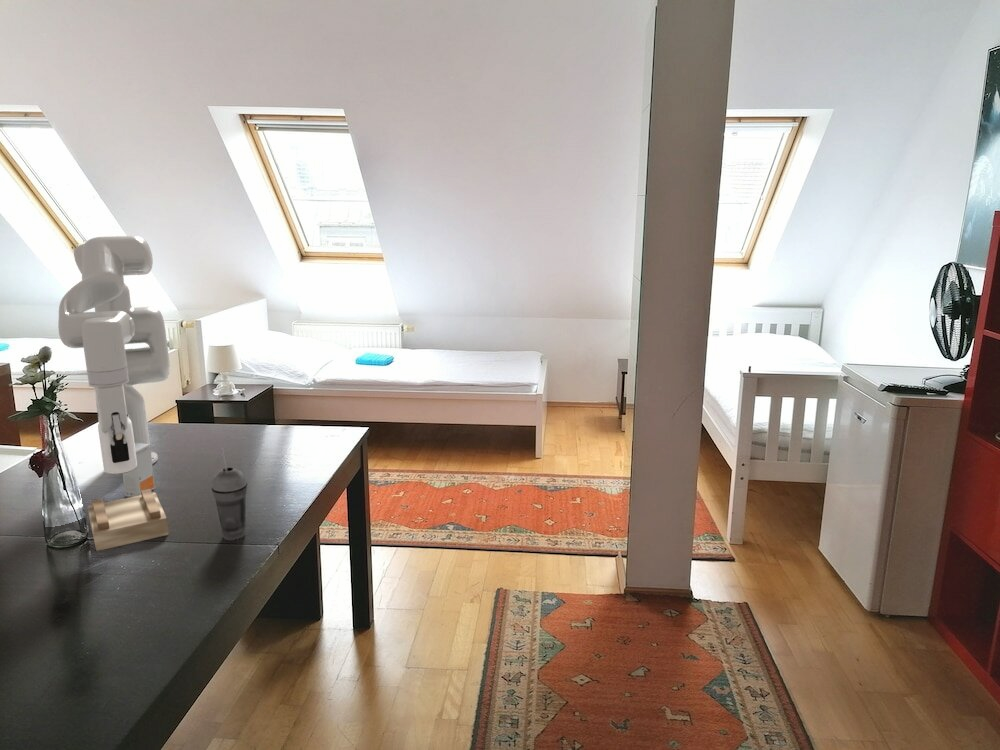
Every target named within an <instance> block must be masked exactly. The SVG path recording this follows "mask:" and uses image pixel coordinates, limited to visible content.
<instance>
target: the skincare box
mask: <svg viewBox="0 0 1000 750" xmlns="http://www.w3.org/2000/svg"><path fill="white" fill-rule="evenodd" d="M135 451H136V459H137V467H136V468H135V469H134V470H133V471H130V472H128V473H123V474H122V481H123V482H122V483H123V492H124V496H125V497H127V498H130V497H135V496H140V495H141V491H142V490H147V489H151V491H153V490H155V488H156V486H155V476H154V468H153V464H152V457H151V452H152V450H151V443H150V444H143V443H135Z"/></svg>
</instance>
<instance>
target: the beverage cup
mask: <svg viewBox="0 0 1000 750" xmlns="http://www.w3.org/2000/svg"><path fill="white" fill-rule="evenodd" d="M220 450H221V455H222V460H223V467H224V468H222V469H220V470H219V471H217V472H216V474H214V477H213V480H212V483H211V491H212V495H213V497H214V500H215V503H216V504H215V505H216V509H217V514H218V517H219V518H218V520H219V524H220V529H221V530H220V531H221V533H222V537H224V538H223V539H224V540H225V541H235V539H237V540H239V538H240V539H242V538H244V537H245V536H244V535H246V525H247V524H246V520H247V519H246V518H247V517H246V513H247V510H246V507H247V505H246V504H247V503H246V500H247V499H246V498H247V497H246V496H247V495H246V494H247V490H248V482H247V479H246V477H245V475H244V474H243V472H242V471H241V470H239V469H238V468H234V467H228V466H227V460H226V455H225V448H224V447H221V448H220ZM243 536H244V537H243ZM241 537H242V538H241Z"/></svg>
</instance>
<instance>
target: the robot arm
mask: <svg viewBox="0 0 1000 750" xmlns="http://www.w3.org/2000/svg"><path fill="white" fill-rule="evenodd" d="M152 253H153V252H152V250H151V247H150V245H149V243H148V242H147V241H146V240H145V239H144V238H142V237H141V236H136V235H133V236H132V235H131V236H130V235H127V236H126V235H125V236H123V235H122V236H121V235H120V236H118V235H117V236H95V237H92V238H89V239H88V240H87V241H85V243H83V244H79V245H77V246H76V247H75V248H74V252H73V257H74V261H75V265H76V267H77V268H78V270H79V272H80V274H81V281H79V282H77V283H76V284H75V285H73V287H71V288H70V289H69V290H68V291H67V292H66V293H65V294H64V296H63V297H62V299H61V300H60V302H59V305H58V306H59V307H58V326H57V327H58V336H59V338H60V341H61V342H62V344H63V345H64V346H66V347H67V348H71V349H83V353H84V358H85V359H84V360H85V361H84V362H85V367H86V375H87V380H88V386H89V387H91V388H94V396H95V403H96V410H97V419H98V424H99V423H100V427H101V431H102V432H103V433H106V432H108V431H110V432H109V433H110V438H111V444H112V445H110V447H111V455H112V461H113V463H118V462H123V461H128V460H129V452H128V444H127V442H126V437H125V431H124V430H126V429H127V428H128V426H127V414H128V415H129V416H128V417H129V419H130V420H131V422H132V428H133V436H134V444H135V443H143V444H150V445H151V443H150V442H151V441H150V435H149V426H148V425H149V424H148V418H147V409H146V401H145V399H144V397H143V395H142V393H141V392H140V391H139V390H137V388H135V387H134V385H135V386H136V385H141V384H151V383H160V382H165V381H166V380H167V379H169V378H170V374H171V368H170V367H171V366H170V357H169V349H168V341H167V333H166V326H165V325H166V324H165V321H164V316H163V315H162V313H161V311H160V310H159V309H158V308H157V307H153V306H142V307H141V306H139V307H133V305H132V303H131V295H130V289H129V287H128V286H127V284H126V283H125V280H124V276H143V275H144V276H145V275H148V274H150V272H151V270H152V269H153V254H152ZM92 309H94V311H89V310H92ZM88 311H89V312H88ZM132 344H133V345H134V344H146V345H148V346H149V347H138V348H125V345H132ZM111 415H112V416H111ZM124 425H125V426H124ZM121 426H122V429H121ZM111 427H114V430H111ZM113 433H115V435H114V437H113ZM151 457H152V465H154V464H155V463H156V462H157V461H158V460H159V455H158V454H157V452H154V451H151Z"/></svg>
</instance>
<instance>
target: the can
mask: <svg viewBox="0 0 1000 750" xmlns="http://www.w3.org/2000/svg"><path fill="white" fill-rule="evenodd" d="M111 416H112V415H111ZM128 416H129V415H128V414H127V426H128V428H127V429H126V430H124V431H125V437H126V442H127V444H128V452H129V460H128V461H123V462H118V463H113V461H112V455H111V447H110V445H112V444H111V438H110V433H109V432H110V431H108V432H106V433H103V432H102V431H101V427H100V423H99V422H98V424H97V431H98V437H99V444H100V450H101V457H102V458H101V459H102V465H103V471H104V472H105V473H106V474H108V475H123V473H128V472H130V471H133V470H134V469H135V468H136V467H137V459H136V451H135V444H134V436H133V428H132V422H131V420H130V419H129V417H128ZM124 426H125V425H124ZM121 429H122V426H121ZM111 430H114V427H111ZM114 435H115V433H113V437H114Z"/></svg>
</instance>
